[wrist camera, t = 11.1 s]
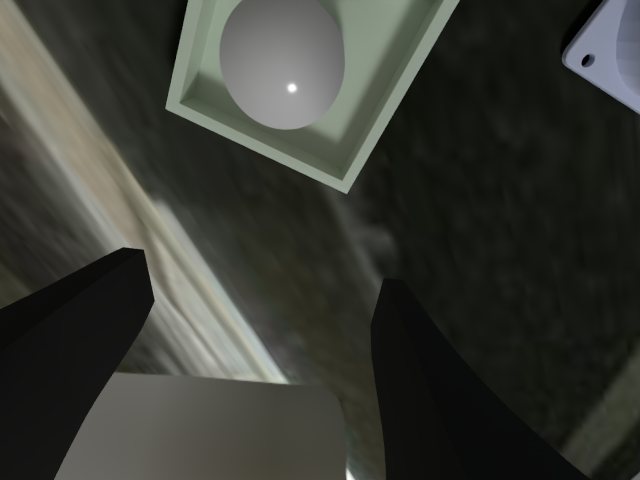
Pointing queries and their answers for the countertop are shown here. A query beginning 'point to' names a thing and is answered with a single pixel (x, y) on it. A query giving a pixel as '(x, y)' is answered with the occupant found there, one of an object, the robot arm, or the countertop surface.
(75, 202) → the countertop surface
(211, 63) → the tray
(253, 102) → the marked fuse
